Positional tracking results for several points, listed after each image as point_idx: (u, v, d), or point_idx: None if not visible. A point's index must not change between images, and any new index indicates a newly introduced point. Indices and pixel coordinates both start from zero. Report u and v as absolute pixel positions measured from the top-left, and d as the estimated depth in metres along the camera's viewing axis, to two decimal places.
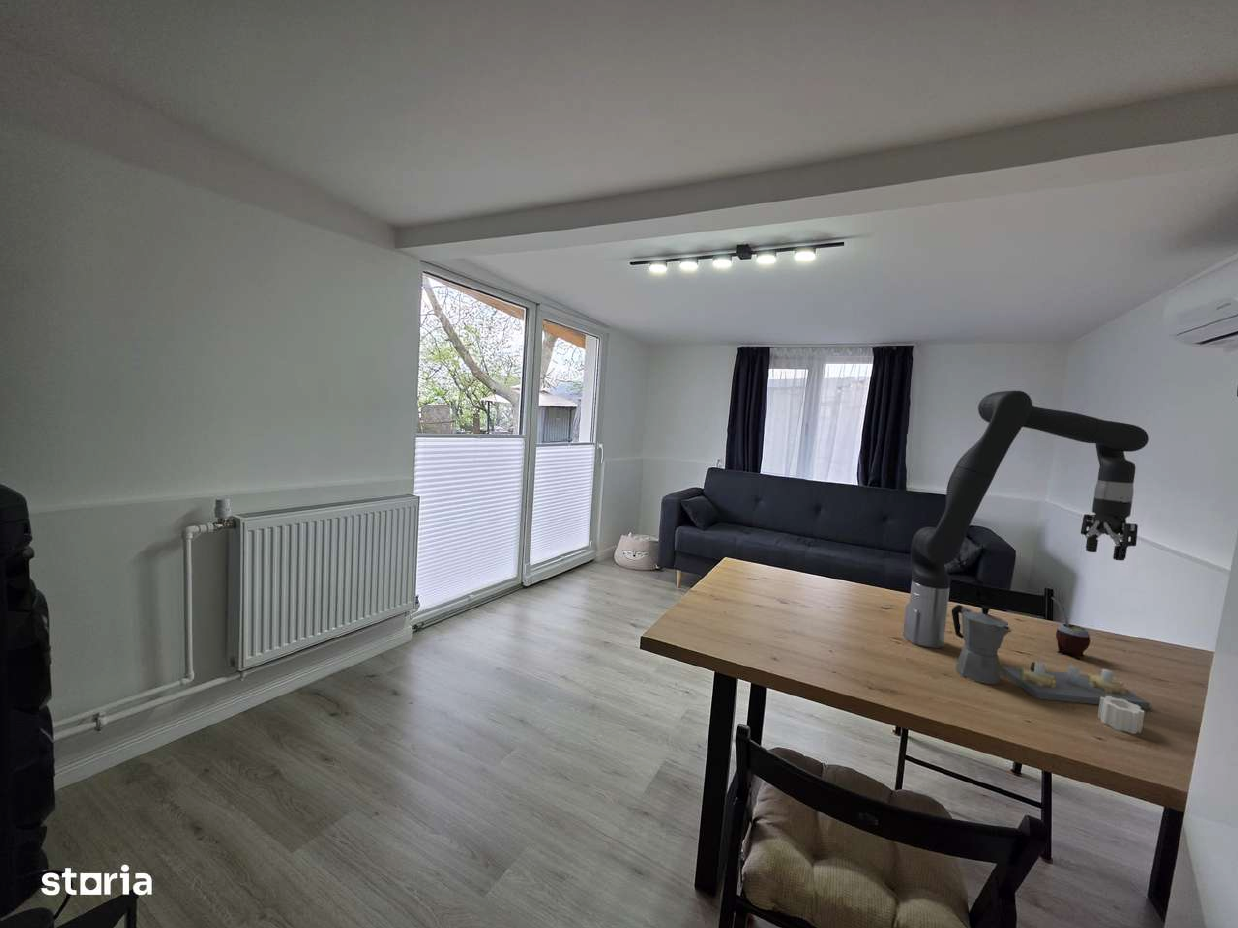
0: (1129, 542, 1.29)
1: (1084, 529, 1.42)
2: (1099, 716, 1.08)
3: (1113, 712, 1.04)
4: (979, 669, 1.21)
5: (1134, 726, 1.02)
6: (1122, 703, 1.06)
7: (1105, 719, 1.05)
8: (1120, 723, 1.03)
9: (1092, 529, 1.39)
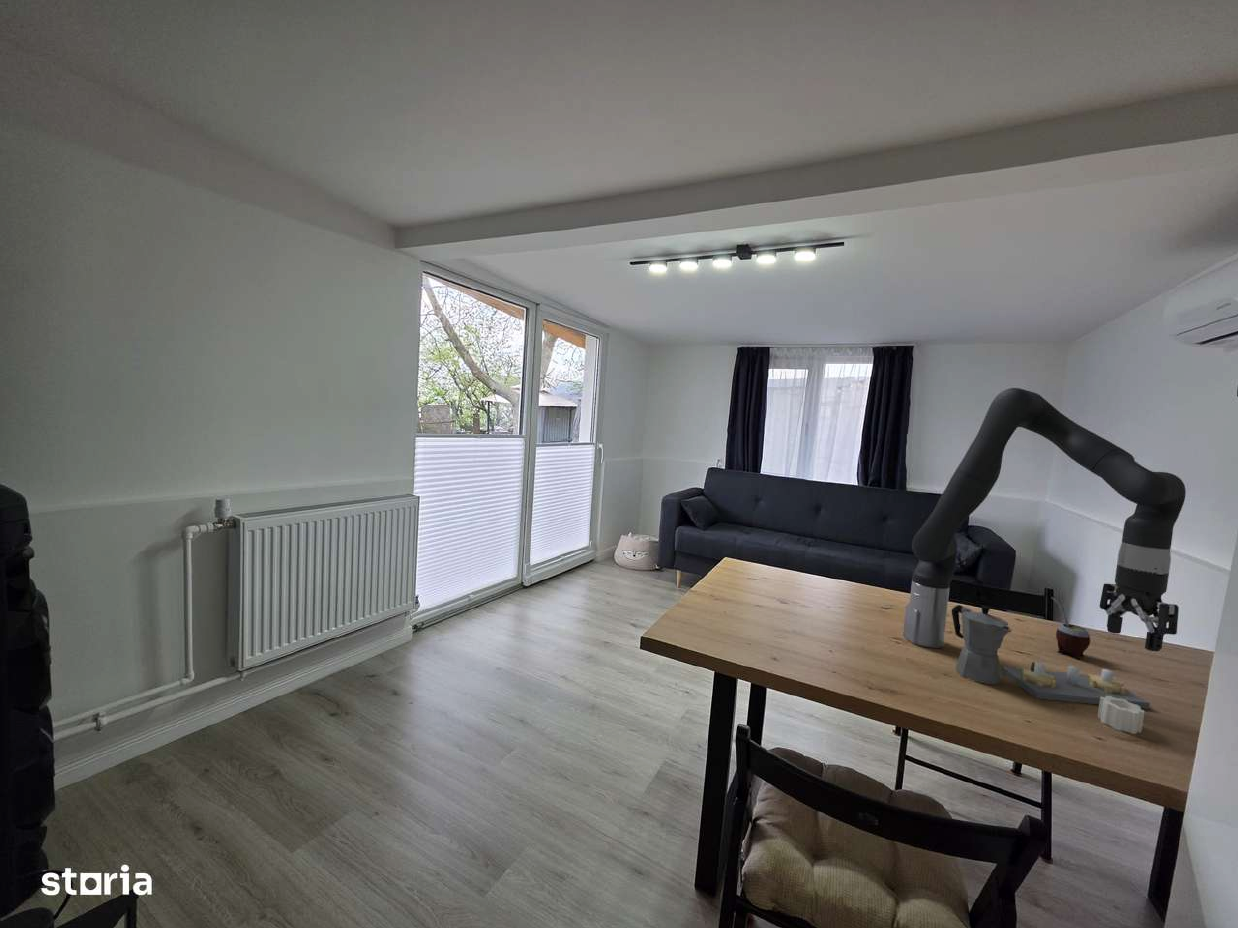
0: (1167, 629, 0.97)
1: (1104, 603, 1.10)
2: (1099, 716, 1.08)
3: (1113, 712, 1.04)
4: (979, 669, 1.21)
5: (1134, 726, 1.02)
6: (1122, 703, 1.06)
7: (1105, 719, 1.05)
8: (1120, 723, 1.03)
9: (1116, 605, 1.07)
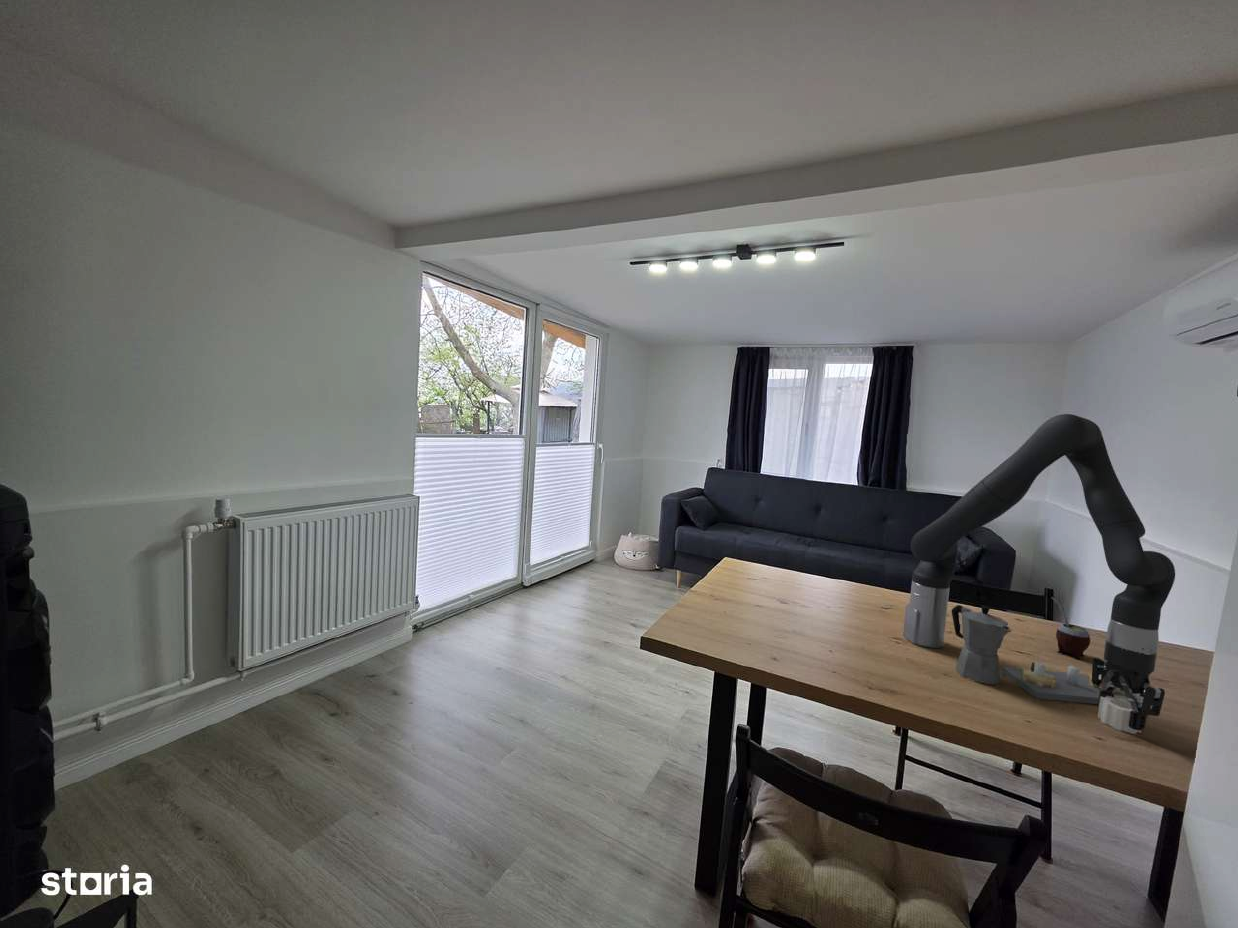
0: (1150, 711, 0.99)
1: (1096, 678, 1.10)
2: (1099, 716, 1.08)
3: (1113, 712, 1.04)
4: (979, 669, 1.21)
5: None
6: (1122, 703, 1.06)
7: (1105, 719, 1.05)
8: (1120, 723, 1.03)
9: (1106, 681, 1.07)
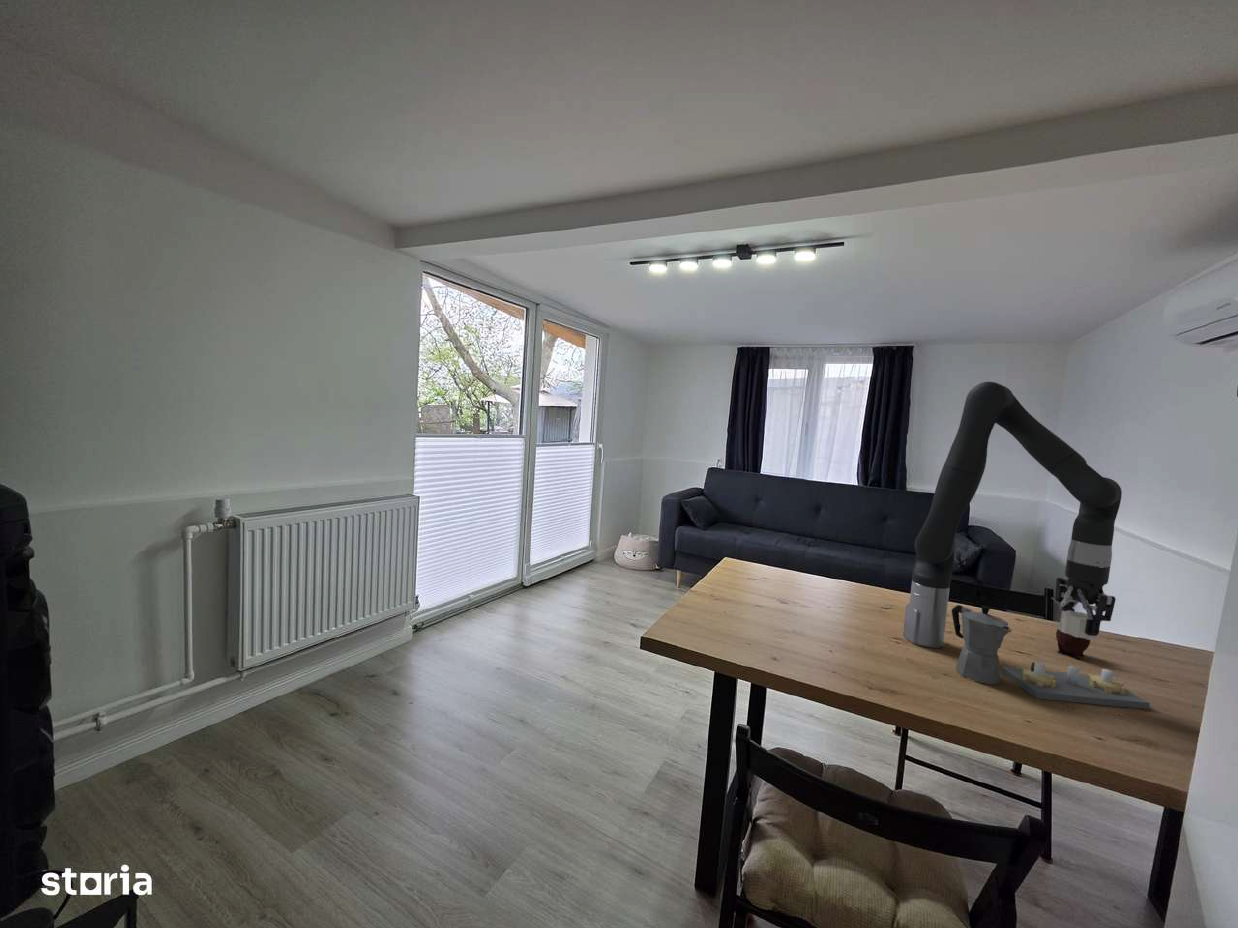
0: (1103, 617, 1.11)
1: (1058, 595, 1.23)
2: (1061, 628, 1.20)
3: (1072, 622, 1.17)
4: (979, 669, 1.21)
5: None
6: (1081, 615, 1.19)
7: (1065, 629, 1.18)
8: (1078, 631, 1.16)
9: (1067, 596, 1.20)
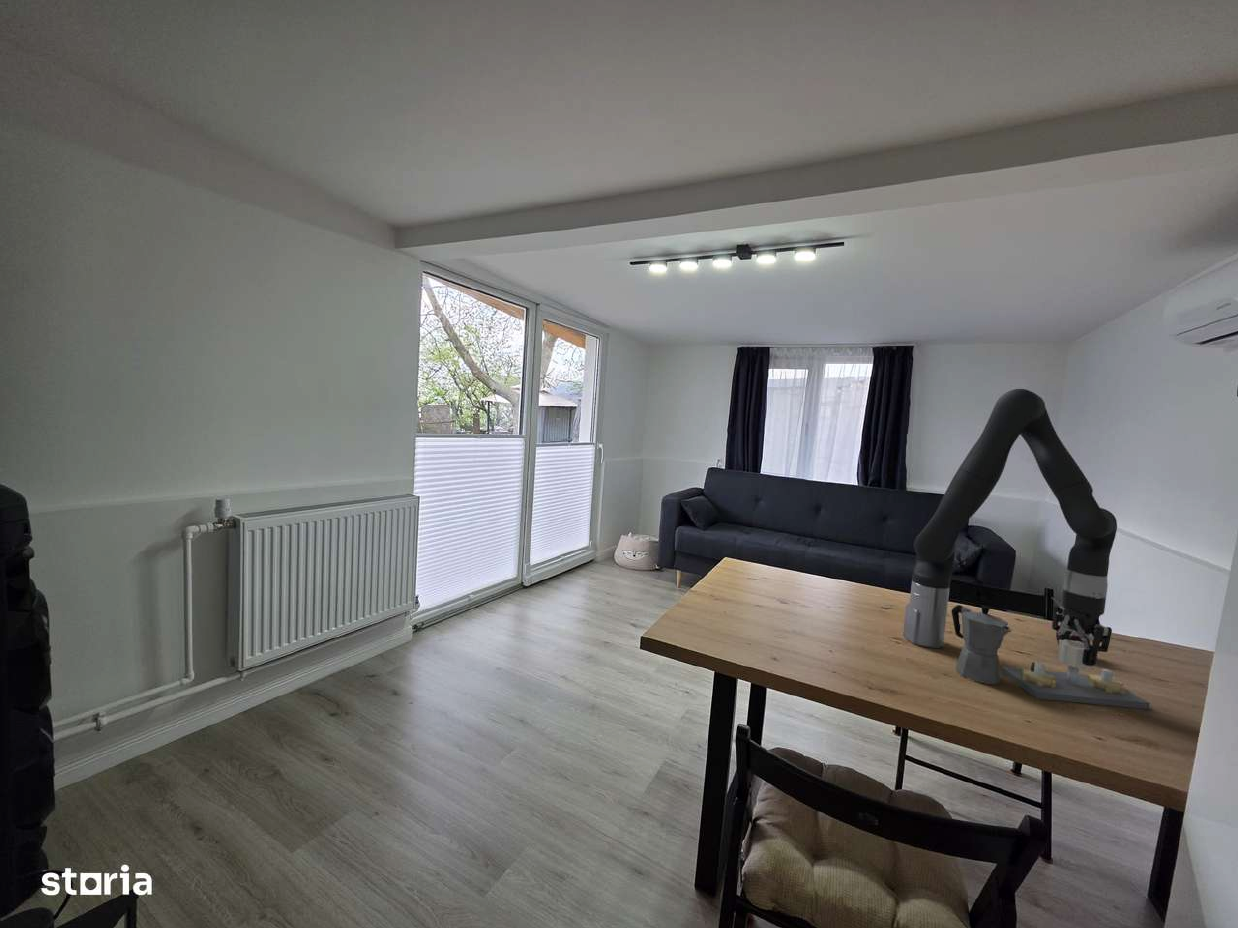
0: (1100, 648, 1.12)
1: (1055, 624, 1.24)
2: (1058, 657, 1.21)
3: (1069, 651, 1.18)
4: (979, 669, 1.21)
5: None
6: (1078, 644, 1.20)
7: (1063, 658, 1.19)
8: (1075, 661, 1.16)
9: (1064, 625, 1.21)
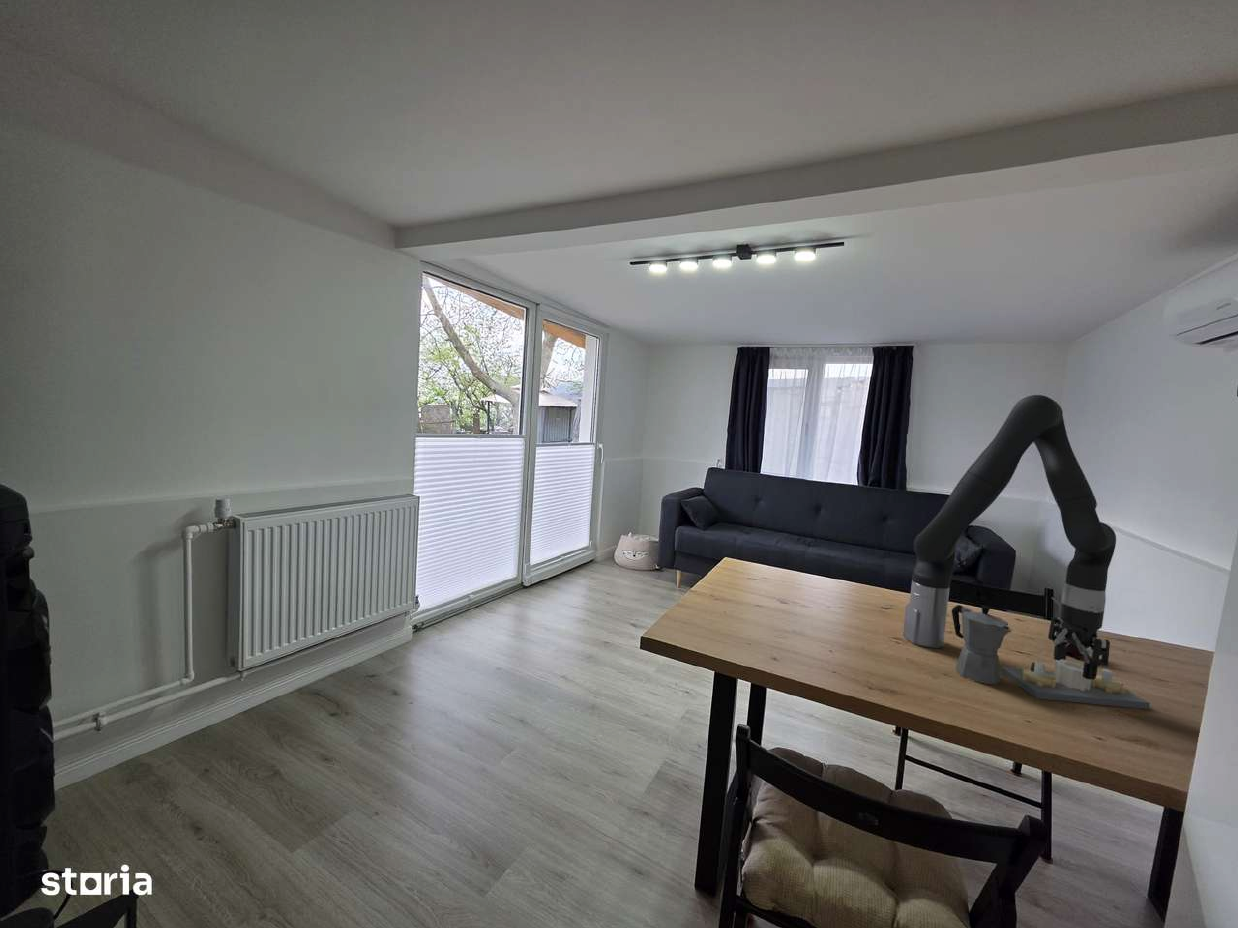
0: (1100, 661, 1.12)
1: (1052, 634, 1.25)
2: None
3: (1065, 672, 1.18)
4: (979, 669, 1.21)
5: (1083, 684, 1.16)
6: (1074, 665, 1.20)
7: (1059, 679, 1.19)
8: (1071, 682, 1.17)
9: (1060, 637, 1.21)
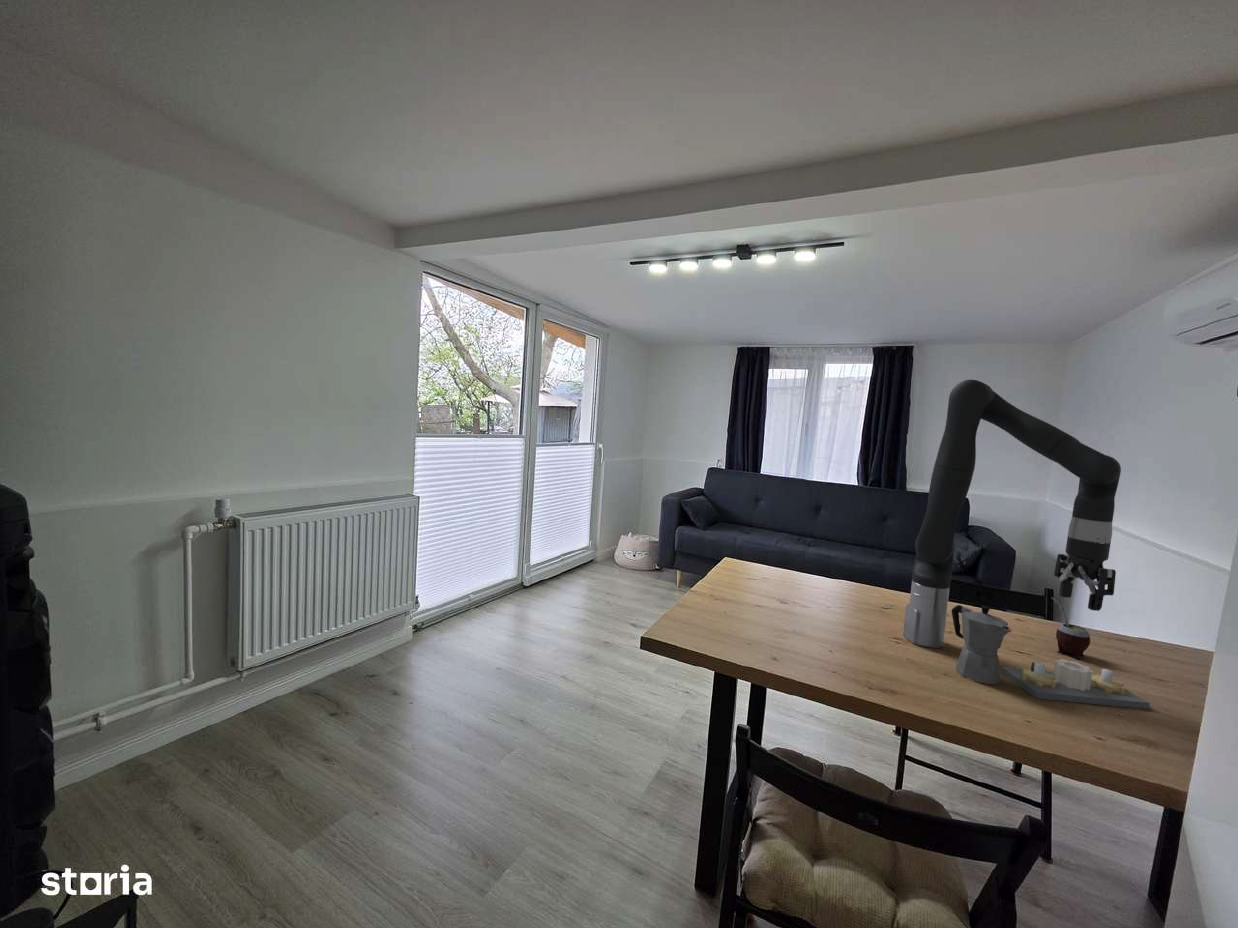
0: (1106, 591, 1.12)
1: (1058, 571, 1.25)
2: None
3: (1065, 672, 1.18)
4: (979, 669, 1.21)
5: (1083, 684, 1.16)
6: (1074, 665, 1.20)
7: (1059, 679, 1.19)
8: (1071, 682, 1.17)
9: (1066, 572, 1.21)
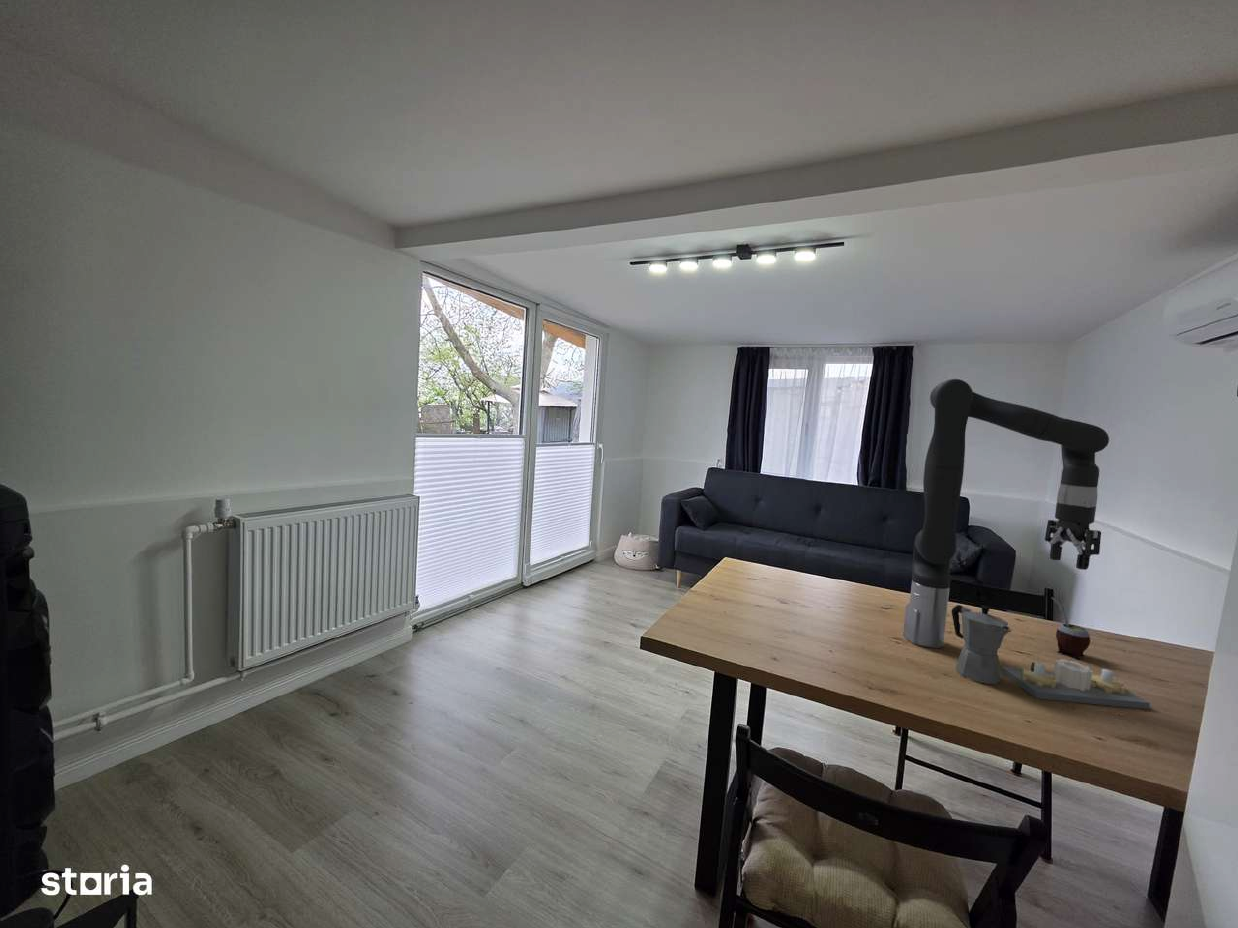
0: (1092, 550, 1.21)
1: (1048, 536, 1.34)
2: None
3: (1065, 672, 1.18)
4: (979, 669, 1.21)
5: (1083, 684, 1.16)
6: (1074, 665, 1.20)
7: (1059, 679, 1.19)
8: (1071, 682, 1.17)
9: (1056, 536, 1.31)
